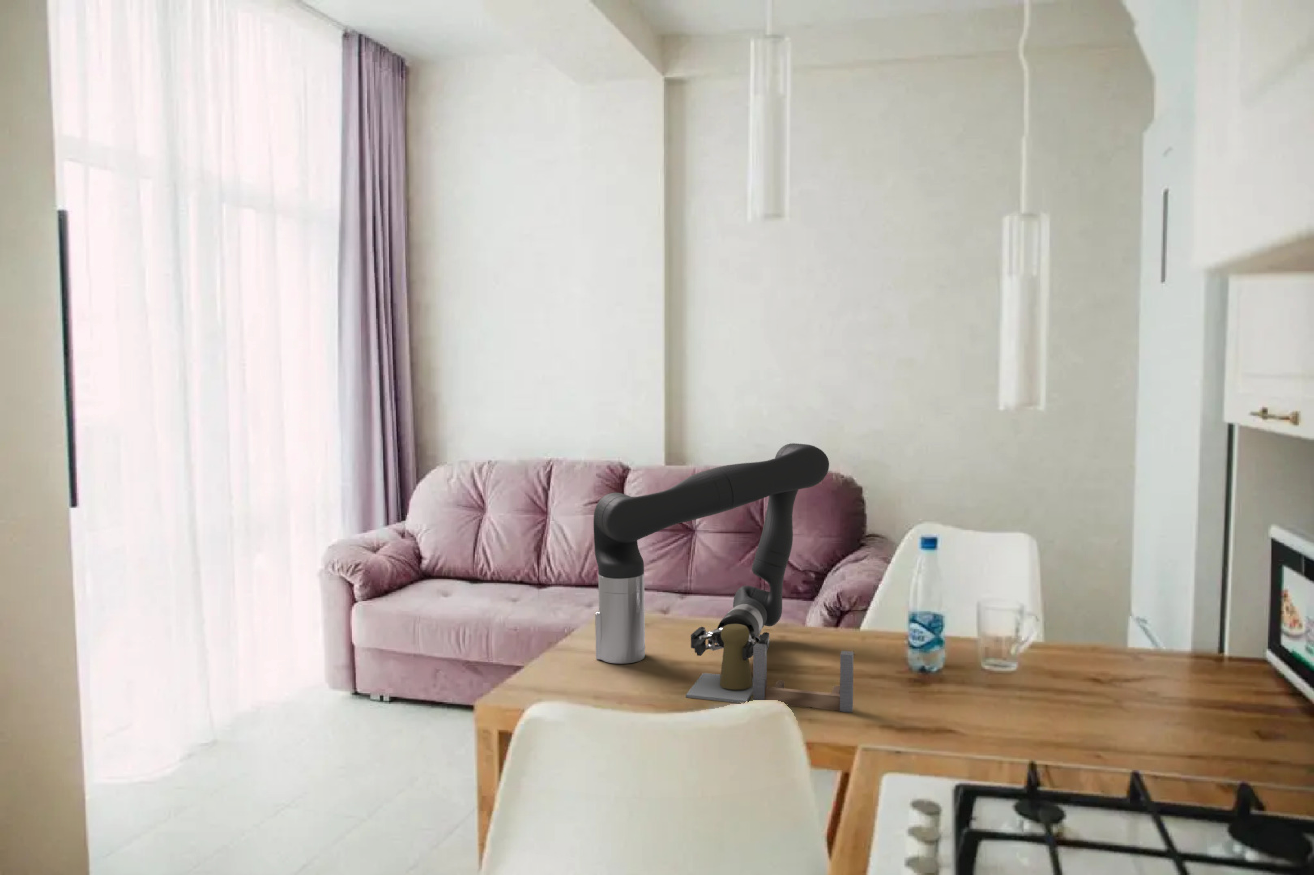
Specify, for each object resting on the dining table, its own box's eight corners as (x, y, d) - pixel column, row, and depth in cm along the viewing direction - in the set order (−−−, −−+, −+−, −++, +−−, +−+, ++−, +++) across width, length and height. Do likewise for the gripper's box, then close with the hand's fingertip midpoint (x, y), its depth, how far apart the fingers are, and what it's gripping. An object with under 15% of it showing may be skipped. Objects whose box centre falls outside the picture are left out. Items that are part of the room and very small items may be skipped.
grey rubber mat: (686, 697, 166) (685, 694, 166) (703, 675, 177) (703, 672, 177) (746, 703, 162) (746, 700, 162) (760, 680, 174) (760, 678, 174)
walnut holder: (753, 702, 163) (753, 646, 162) (762, 685, 171) (762, 632, 170) (851, 712, 158) (852, 655, 157) (856, 695, 166) (857, 640, 165)
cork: (751, 679, 173) (750, 620, 173) (754, 689, 167) (752, 628, 167) (718, 680, 173) (717, 621, 173) (720, 689, 167) (719, 628, 167)
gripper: (705, 605, 185) (683, 629, 169) (776, 611, 180) (760, 635, 165) (705, 642, 185) (683, 669, 170) (776, 649, 181) (760, 676, 166)
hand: (721, 652), depth 168 cm, fingers open, 8 cm apart
